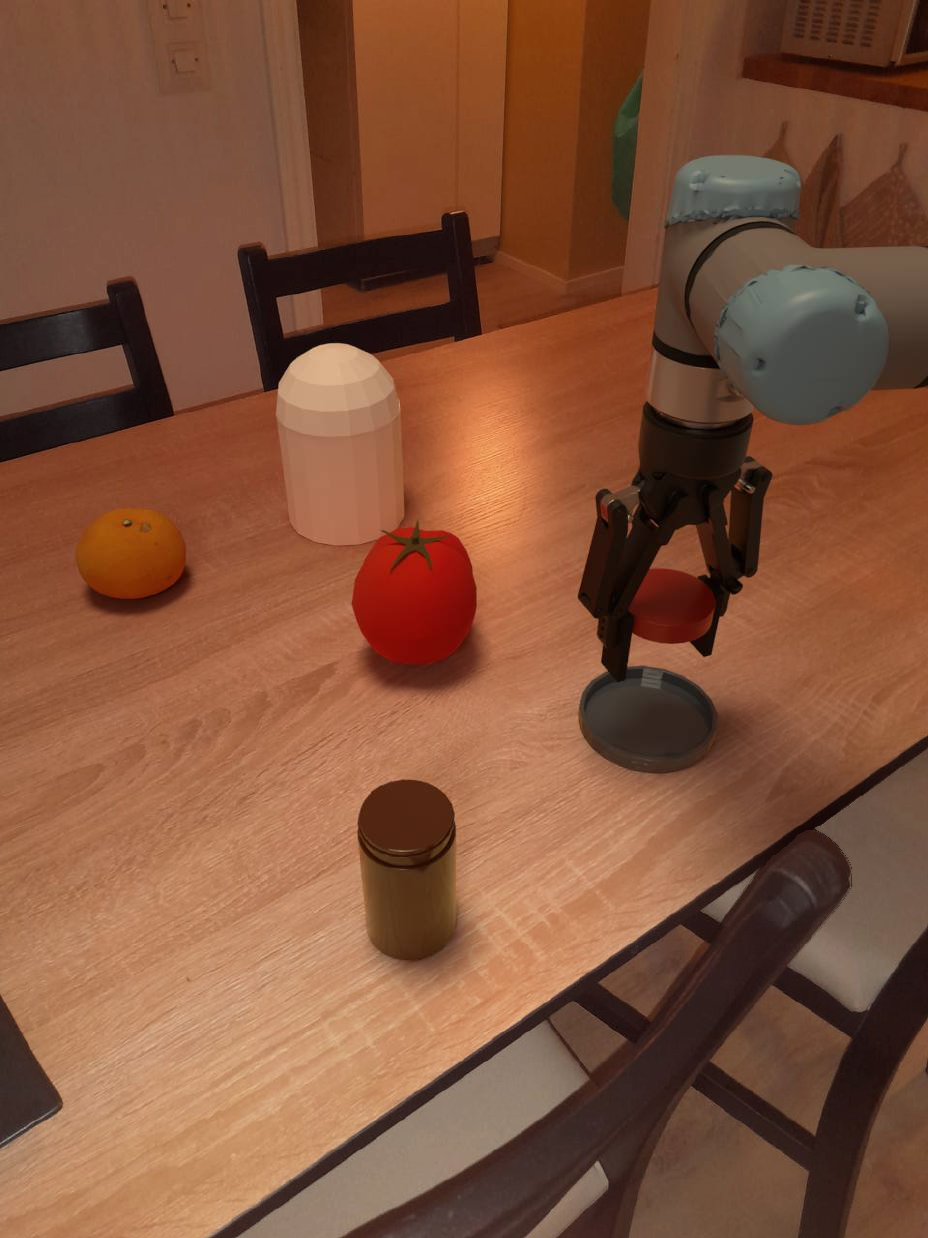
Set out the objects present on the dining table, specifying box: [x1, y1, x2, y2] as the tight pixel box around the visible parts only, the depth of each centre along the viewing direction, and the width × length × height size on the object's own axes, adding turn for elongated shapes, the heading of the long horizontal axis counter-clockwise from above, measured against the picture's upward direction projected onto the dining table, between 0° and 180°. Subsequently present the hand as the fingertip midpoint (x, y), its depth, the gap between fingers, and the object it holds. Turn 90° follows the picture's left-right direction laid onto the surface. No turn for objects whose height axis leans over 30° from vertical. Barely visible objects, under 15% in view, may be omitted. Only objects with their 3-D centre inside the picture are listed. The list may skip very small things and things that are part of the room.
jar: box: [356, 779, 457, 961], centre depth 65 cm, size 6×6×12 cm
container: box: [275, 342, 406, 547], centre depth 106 cm, size 14×13×20 cm
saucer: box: [577, 665, 719, 774], centre depth 84 cm, size 12×12×2 cm
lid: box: [628, 567, 716, 645], centre depth 77 cm, size 8×8×2 cm
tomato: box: [351, 519, 478, 667], centre depth 88 cm, size 12×12×13 cm
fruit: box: [75, 507, 187, 600], centre depth 98 cm, size 10×10×8 cm
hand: (656, 658), depth 80 cm, fingers closed on lid, 8 cm apart
